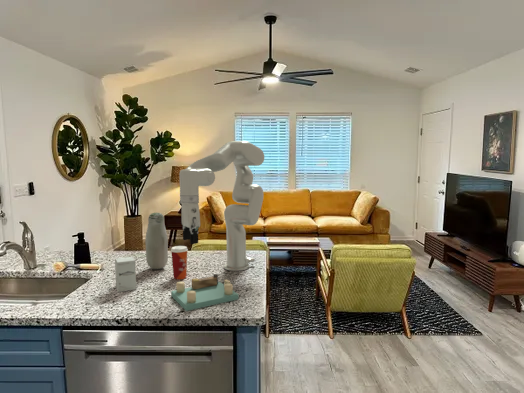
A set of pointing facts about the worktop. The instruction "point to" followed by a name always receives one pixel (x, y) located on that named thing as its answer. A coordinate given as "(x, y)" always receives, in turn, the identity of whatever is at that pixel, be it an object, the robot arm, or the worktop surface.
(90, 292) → the worktop surface
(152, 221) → the grey ceramic bottle
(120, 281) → the supplement box
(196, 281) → the folding leg
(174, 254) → the paper cup
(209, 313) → the worktop surface
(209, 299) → the stool seat
